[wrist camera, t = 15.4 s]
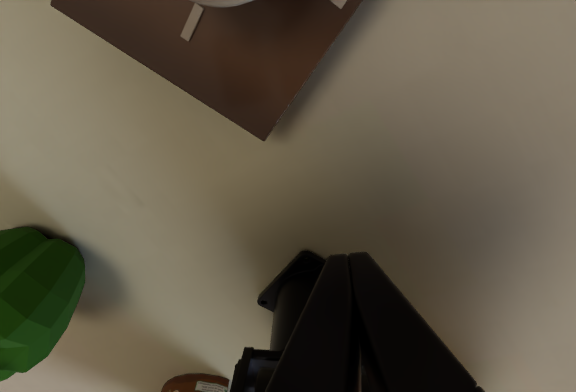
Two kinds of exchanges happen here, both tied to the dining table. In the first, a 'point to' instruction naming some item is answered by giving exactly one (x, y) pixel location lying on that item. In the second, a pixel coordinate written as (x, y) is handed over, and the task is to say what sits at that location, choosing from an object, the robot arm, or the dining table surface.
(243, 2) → the dial
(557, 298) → the dining table surface
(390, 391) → the robot arm
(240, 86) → the dial panel
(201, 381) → the food container
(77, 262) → the bell pepper
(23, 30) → the dining table surface
